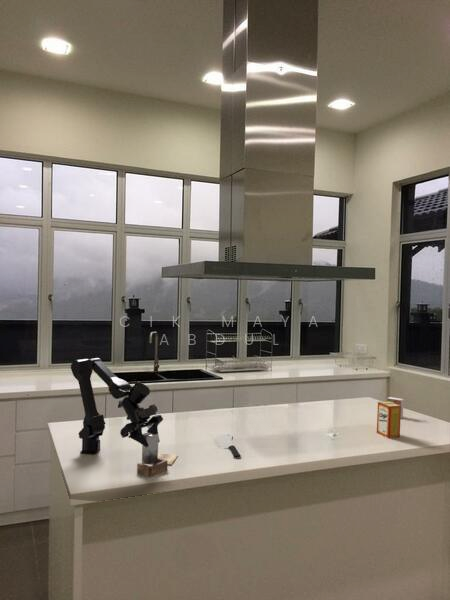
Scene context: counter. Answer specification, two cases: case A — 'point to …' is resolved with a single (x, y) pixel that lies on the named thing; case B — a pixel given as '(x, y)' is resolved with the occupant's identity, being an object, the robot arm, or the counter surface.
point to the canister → (150, 448)
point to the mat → (167, 458)
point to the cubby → (152, 468)
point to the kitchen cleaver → (228, 444)
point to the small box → (398, 402)
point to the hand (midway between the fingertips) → (153, 444)
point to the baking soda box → (388, 419)
